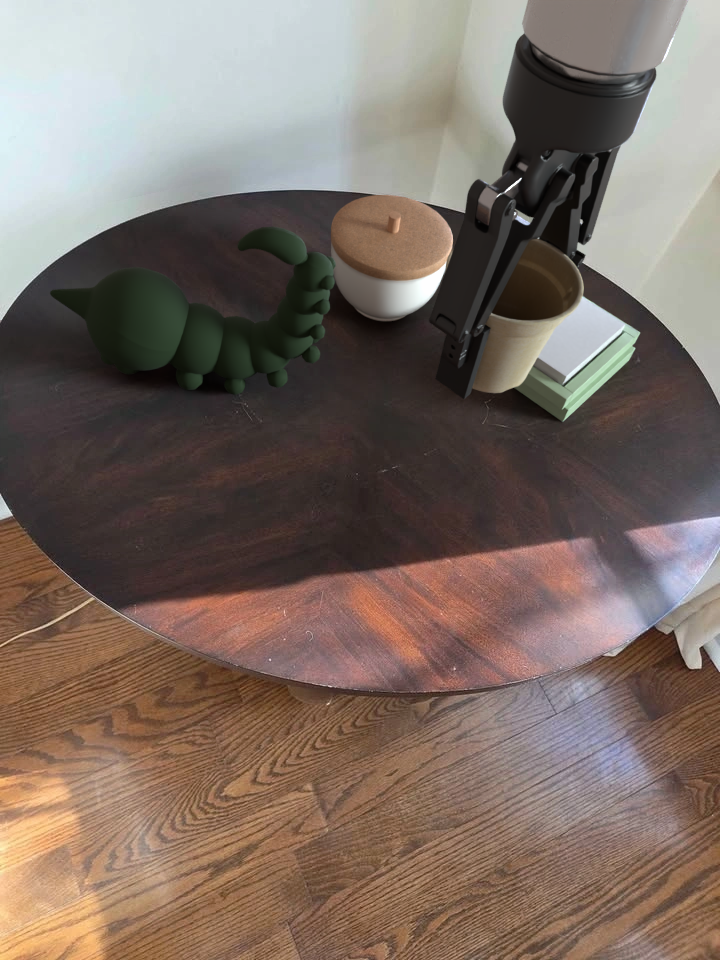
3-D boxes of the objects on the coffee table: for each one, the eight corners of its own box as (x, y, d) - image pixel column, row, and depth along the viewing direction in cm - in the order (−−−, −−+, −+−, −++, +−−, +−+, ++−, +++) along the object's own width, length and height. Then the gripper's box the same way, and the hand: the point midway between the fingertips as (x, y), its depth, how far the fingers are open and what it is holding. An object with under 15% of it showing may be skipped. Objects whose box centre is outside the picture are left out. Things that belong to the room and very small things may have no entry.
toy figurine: (314, 356, 83) (72, 323, 80) (343, 206, 68) (46, 156, 64) (309, 425, 78) (49, 391, 74) (340, 277, 63) (15, 227, 59)
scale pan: (620, 334, 83) (625, 324, 82) (561, 387, 78) (566, 376, 76) (536, 281, 87) (540, 270, 85) (474, 327, 81) (477, 316, 80)
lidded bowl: (312, 323, 84) (317, 238, 75) (341, 252, 91) (349, 167, 82) (426, 350, 83) (445, 268, 74) (446, 276, 90) (465, 193, 81)
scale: (631, 357, 85) (644, 334, 83) (559, 425, 79) (570, 402, 76) (523, 287, 90) (531, 263, 88) (446, 345, 84) (452, 321, 81)
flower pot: (416, 321, 61) (434, 230, 54) (530, 319, 63) (562, 229, 56) (437, 413, 56) (461, 324, 49) (561, 408, 57) (601, 321, 50)
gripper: (630, -31, 47) (529, 269, 65) (403, 83, 37) (358, 400, 55) (743, 18, 44) (604, 316, 63) (532, 155, 34) (440, 462, 52)
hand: (489, 355), depth 59 cm, fingers closed on flower pot, 8 cm apart
